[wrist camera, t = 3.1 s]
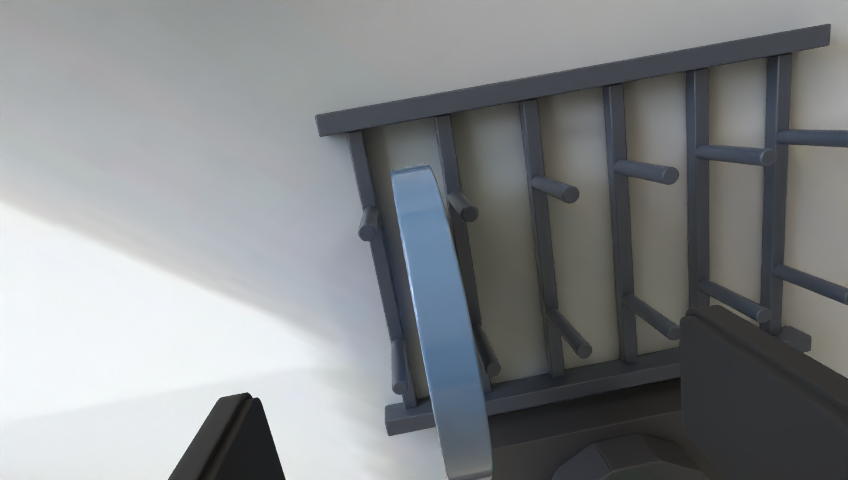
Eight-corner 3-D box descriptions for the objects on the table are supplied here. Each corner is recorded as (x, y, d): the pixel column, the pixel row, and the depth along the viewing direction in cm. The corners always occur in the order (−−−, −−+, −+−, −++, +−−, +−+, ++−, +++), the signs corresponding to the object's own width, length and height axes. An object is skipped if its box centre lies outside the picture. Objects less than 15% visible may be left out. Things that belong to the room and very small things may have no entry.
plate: (430, 371, 21) (466, 583, 11) (389, 157, 18) (391, 196, 9) (455, 366, 21) (512, 573, 11) (418, 152, 18) (452, 186, 9)
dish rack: (388, 420, 21) (388, 485, 18) (319, 115, 18) (300, 113, 14) (789, 339, 22) (874, 385, 18) (803, 29, 18) (914, 4, 15)
